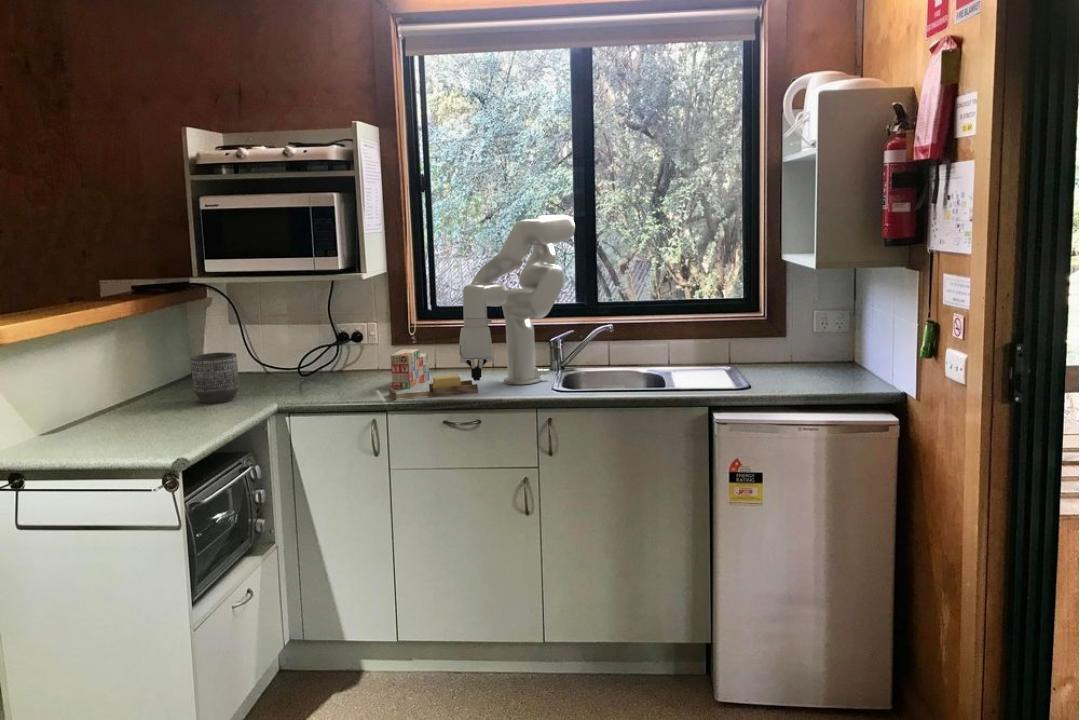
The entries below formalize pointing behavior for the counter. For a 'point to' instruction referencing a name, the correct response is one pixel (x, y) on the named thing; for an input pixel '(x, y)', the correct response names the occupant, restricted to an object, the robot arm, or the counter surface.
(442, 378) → the block
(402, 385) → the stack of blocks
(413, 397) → the chute board
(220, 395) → the planter
